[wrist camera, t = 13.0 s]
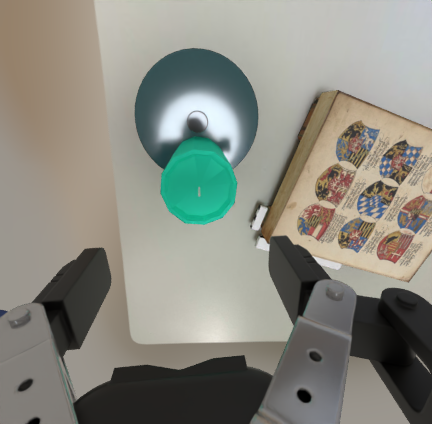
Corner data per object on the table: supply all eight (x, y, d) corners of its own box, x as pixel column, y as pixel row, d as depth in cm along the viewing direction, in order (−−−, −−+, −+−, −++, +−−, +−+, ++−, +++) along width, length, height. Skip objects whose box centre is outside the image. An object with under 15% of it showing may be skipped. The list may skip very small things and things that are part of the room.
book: (241, 236, 43) (374, 273, 48) (248, 256, 37) (398, 295, 42) (302, 89, 34) (455, 151, 39) (324, 84, 29) (501, 158, 33)
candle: (212, 195, 30) (220, 243, 19) (165, 176, 28) (144, 217, 17) (232, 149, 28) (255, 172, 17) (183, 127, 27) (173, 137, 15)
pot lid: (146, 180, 30) (136, 193, 25) (127, 52, 25) (110, 37, 20) (254, 175, 30) (264, 187, 26) (258, 49, 25) (271, 34, 20)
